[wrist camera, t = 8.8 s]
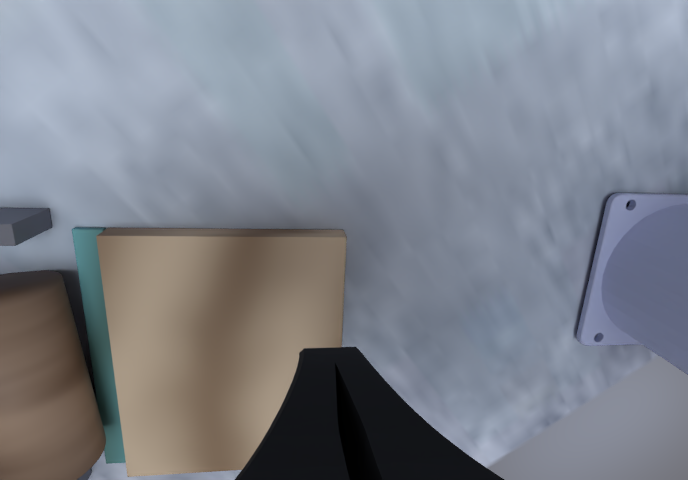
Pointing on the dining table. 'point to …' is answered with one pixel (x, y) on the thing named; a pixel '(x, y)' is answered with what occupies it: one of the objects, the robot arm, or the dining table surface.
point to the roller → (44, 383)
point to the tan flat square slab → (202, 335)
